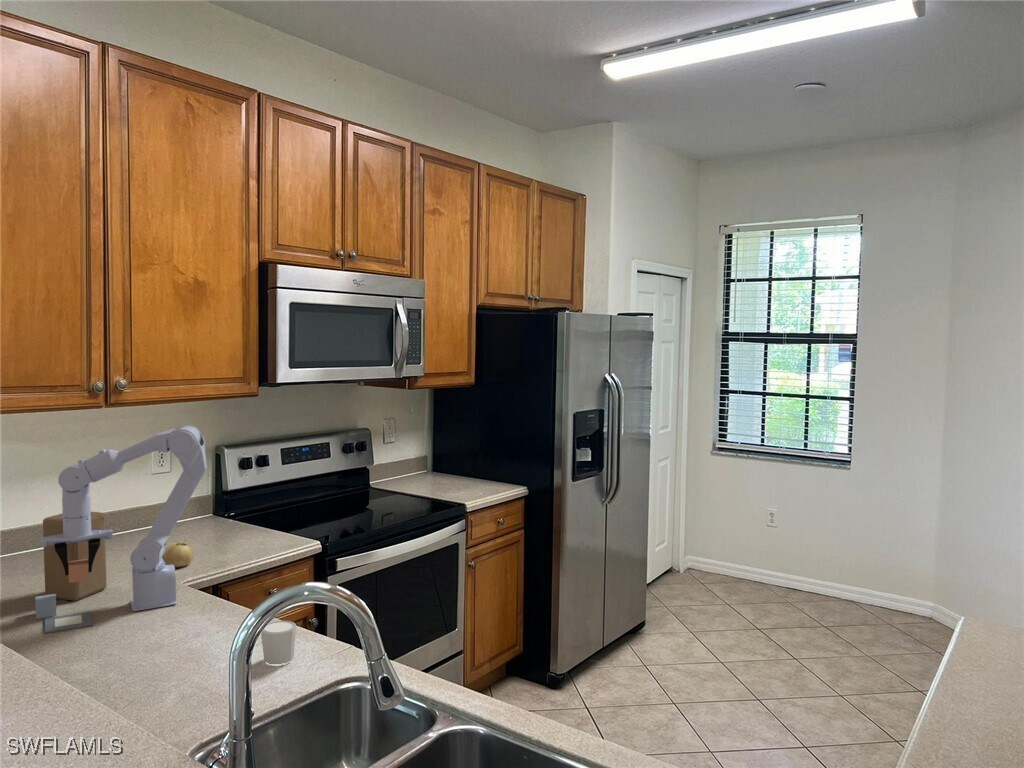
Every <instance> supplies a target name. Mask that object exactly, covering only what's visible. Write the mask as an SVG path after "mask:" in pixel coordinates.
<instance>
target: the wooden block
mask: <svg viewBox="0 0 1024 768" xmlns="http://www.w3.org/2000/svg"><path fill="white" fill-rule="evenodd" d="M92 530H106V516H105V514H104V513H103V512H100V511H91V531H92ZM42 534H43V535H42V537H47V536H53V535H58V534H63V512H62V513H59V514H55V515H51V516H47V517H45V518H44V519H43V520H42ZM106 548H107V547H106V539H103V540H100V547H99V549H98V551H97V553H96V555H95V558H94V561H93V565H92V572H89V580H87V581H79V582H72V583H69V575H65V570H64V567H63V564H62V562H61V560H60V558H59V556H58V554H57V553H56V551H55V545H51V546H47V547H43V565H44V568H43V570H44V590H45V591H44V595H51V594H56V599H60V600H69V601H73V602H75V601H76V602H77V601H79V600H82V599H84V598H86V597H89V596H92V595H94V594H96V593H98V592H101V591H103V590H105V589H106V588H107V585H108V584H107V582H108V581H107V554H106V553H107V552H106V551H107V550H106ZM88 557H89V554H88V541H85V542H77V543H68V544H67V559H68V561H76V560H84V559H88ZM68 567H69V564H68Z"/></svg>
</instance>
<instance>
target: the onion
mask: <svg viewBox="0 0 1024 768" xmlns="http://www.w3.org/2000/svg"><path fill="white" fill-rule="evenodd" d="M186 541H187V539H186V540H184V541H181V542H174V543H171V544H170V545H168V546H166V551H165V553H164V555H163V556H162V557H161V558H162V559H163V560H164V562H165V565H174V567H175V568H182V567H185V566H188V565H189V564H190V563H191V562H192V561H193V559H194V551H193V549H192V547H191V546H190V545H188V543H187V542H186Z"/></svg>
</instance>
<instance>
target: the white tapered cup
mask: <svg viewBox="0 0 1024 768" xmlns="http://www.w3.org/2000/svg"><path fill="white" fill-rule="evenodd" d="M268 623H269V624H268ZM268 623H267V624H268V625H267V626H266V627H265V628H264V630H263V631H262V633H261V632H260V635H261V644H262V645H261V646H262V653H263V655H262V656H263V662H264V661H265V662H267V663H269V664H282V663H287V662H289V661H291V660H292V659H293V657H295V645H296V635H297V633H296V632H297V624H296V623H295V622H293V621H289V620H276V621H271V622H268ZM293 660H294V659H293Z"/></svg>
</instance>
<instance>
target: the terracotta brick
mask: <svg viewBox="0 0 1024 768" xmlns="http://www.w3.org/2000/svg"><path fill="white" fill-rule="evenodd" d="M68 564H69V583H72V582H79V581H87V580H89V571H88V559H84V560H76V561H68Z"/></svg>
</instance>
